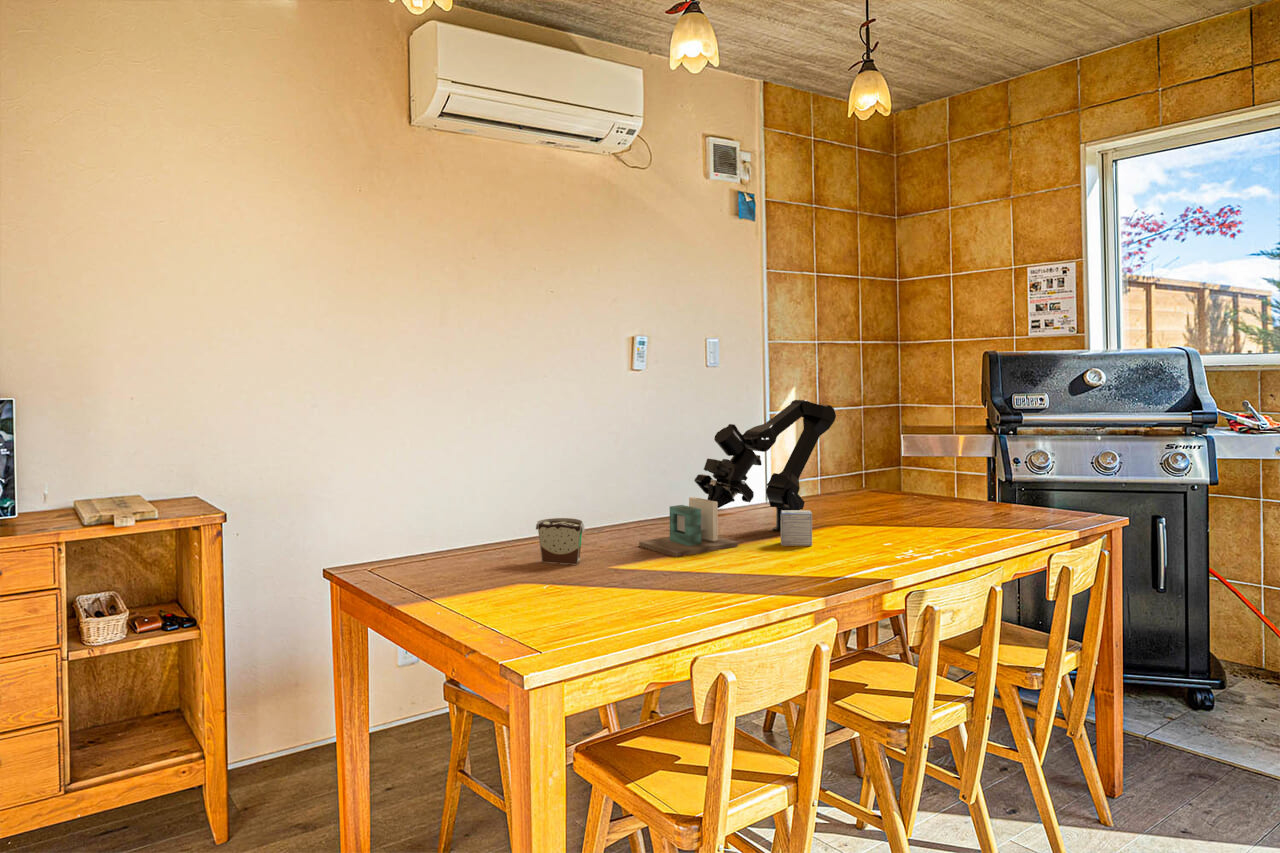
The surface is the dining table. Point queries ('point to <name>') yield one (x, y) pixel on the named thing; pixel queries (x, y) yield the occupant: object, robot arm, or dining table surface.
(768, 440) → the robot arm
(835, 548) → the dining table surface
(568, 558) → the food container
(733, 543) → the board
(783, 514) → the medicine box
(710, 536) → the cream upright panel
